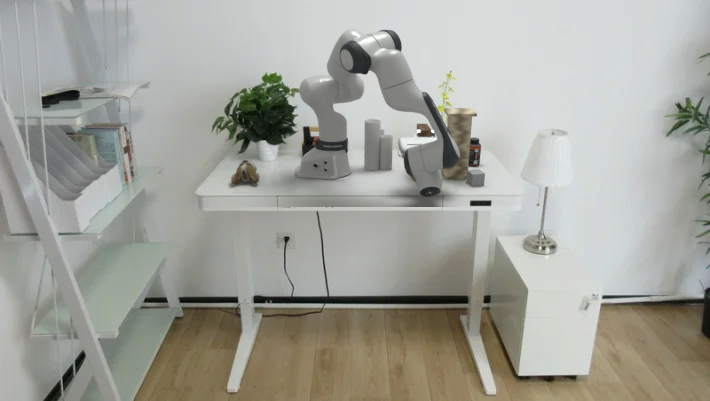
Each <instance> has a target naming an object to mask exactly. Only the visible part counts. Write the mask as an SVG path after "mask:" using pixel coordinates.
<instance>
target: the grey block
mask: <svg viewBox="0 0 710 401" xmlns="http://www.w3.org/2000/svg"><path fill="white" fill-rule="evenodd" d="M485 177H486V173H485V172H484V171H482V170H481V169H478V168H477V169H469V170H467V179H465V180H466V181H465V182H466V184H468V186H471V187H472V188H473V187H484V186H485V180H486V178H485Z"/></svg>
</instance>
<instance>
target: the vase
mask: <svg viewBox="0 0 710 401" xmlns="http://www.w3.org/2000/svg"><path fill="white" fill-rule="evenodd" d="M381 124H382V122H381V120H380V119H376V118H369V119H365V120H364V150H363V151H364V154H363V156H364V160H363V163H364V166H363V168H364V170H365V171H368V172H376V171H379V170H380V171H385V172H386V171H391V170H392V169H393V142H394V141H393V140H394V137H393V135H391V134H385V129H381Z"/></svg>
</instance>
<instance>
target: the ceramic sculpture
mask: <svg viewBox="0 0 710 401" xmlns="http://www.w3.org/2000/svg"><path fill="white" fill-rule="evenodd" d="M235 171H236V172H235V173H234V174H233V175H231V177H230V179H231V180H230V182H231V184H232V185H237V184H239V183H250V182H252V183H253V184H257V183H259V181H260V174H259V173H258V172H257V166H256V165H255V163H254V162H253V161H252V160H250V159H249V157H246V158H244V159H243V160H242V161H240V163H239V165H238V166H237V168H236V170H235Z"/></svg>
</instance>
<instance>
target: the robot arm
mask: <svg viewBox="0 0 710 401" xmlns="http://www.w3.org/2000/svg"><path fill="white" fill-rule="evenodd" d="M335 42H336V43H335V44H334V46H333V49H331V50H332V51H331V53H330V55H329V57H328V61H327V62H326V69H327V73H328V74H324V75H323V74H322V75H313V76H310V77H307V78H304V79H303V80H302V81H301V83H300V84H299V97H300V98H301V100H302V101H303V103H304V104H306V105H307V106H309V107H310V108H311V109H312V111H313V112H314V114H315V117H316V119H317V126H318V136H314V137H313V146H314V147H313V148H311V149H310V150H309V151H308V152H306V153H305V154H304V155H303V157H302V158H301V161H300V165H299V166H297V167H296V168H295V171H294V173H295V174H294V175H295V176H296V177H297V178H303V179H319V180H330V181H331V180H333V181H334V180H337V179H339V178H342V177H347V176H348V175H350V174H351V173H352V169H351V166H350V163H349V162H350V160H349V154H348V153H349V138H348V124H347V123H348V121H347V119H346V117H345V116H344V115H343V114H342V113H340V112H337V111H336V110H335V109H334V105H335V104H344V103H345V104H346V103H347V104H348V103H351V102H355V101H357V100H360V99H361V98H362V96H364V92H365V85H364V84H365V82H364V80H363V79H362V78H361V76H360V75H359V74H361V75H368V73H369V72H372V73H374V75H375V76H376V78H377V81H378V85H379V88H380V91H381V95H382V97H383V100H384V101H385V104H386V105H387V106H388V107H389V108H390V109H392V110H394V111H398V112H404V113H415V114H420V115H421V116H422V115H423V116H424V117H425V118H426V119H427V120H428V122H429V124H430V128H431V130H432V137H418V136H420V130H417V129H415V133H414V134H413V136H414V137H413V136H400V137H399V138H398V142H397V143H398V144H397V145H398V150H397V155H398V157H399V158H401V159H403V165H404V169H405V172H406V174H407V176H409V177H410V178H411V179H412V178H413V179H415V180H414V181H415V183H416V186H417V191H418V193H419V195H421V196H422V197H427V198H429V197H435V196H437V195H439V194H440V193H441V191H442V189H443V188H442V187H443V186H442V185H443V177H442V173H441V170H440V169H447V168H453V167H454V166H455V165H456V164H457V163H458V161H459V159H460V151H459V148H458V146H457V144H456V143H455V140H454V138H452V136H451V135H450V133H449V131H448V129H447V125H446V123H445V121H444V120H443V117H442V116H441V113H440V111H439V110H438V107H437V106H436V105H437V104H435V102H434V100H433V98H432V97H431V95H430V94H429V93H428V92H426V91H422V90H421V89H420V88H419V87H418V85H417V84H416V82H415V80H414V76H413V74H412V71H411V68H410V66H409V63H408V61H407V59H406V57H405V55H404V54H403V53H402V51H403V50H402V49H403V48H402V41H401V38H400V36H399V35H398V34H397V32H396V31H394V30H392V29H382V30H381V29H380V30H379V31H375V32H371V33H367V34H364V33H363V32H361V30H358V29H355V28H350V29H346V30H345V31H343V33H341V35H340V36H339V37H338V39H337V40H336V41H335ZM413 179H412V180H413Z"/></svg>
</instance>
